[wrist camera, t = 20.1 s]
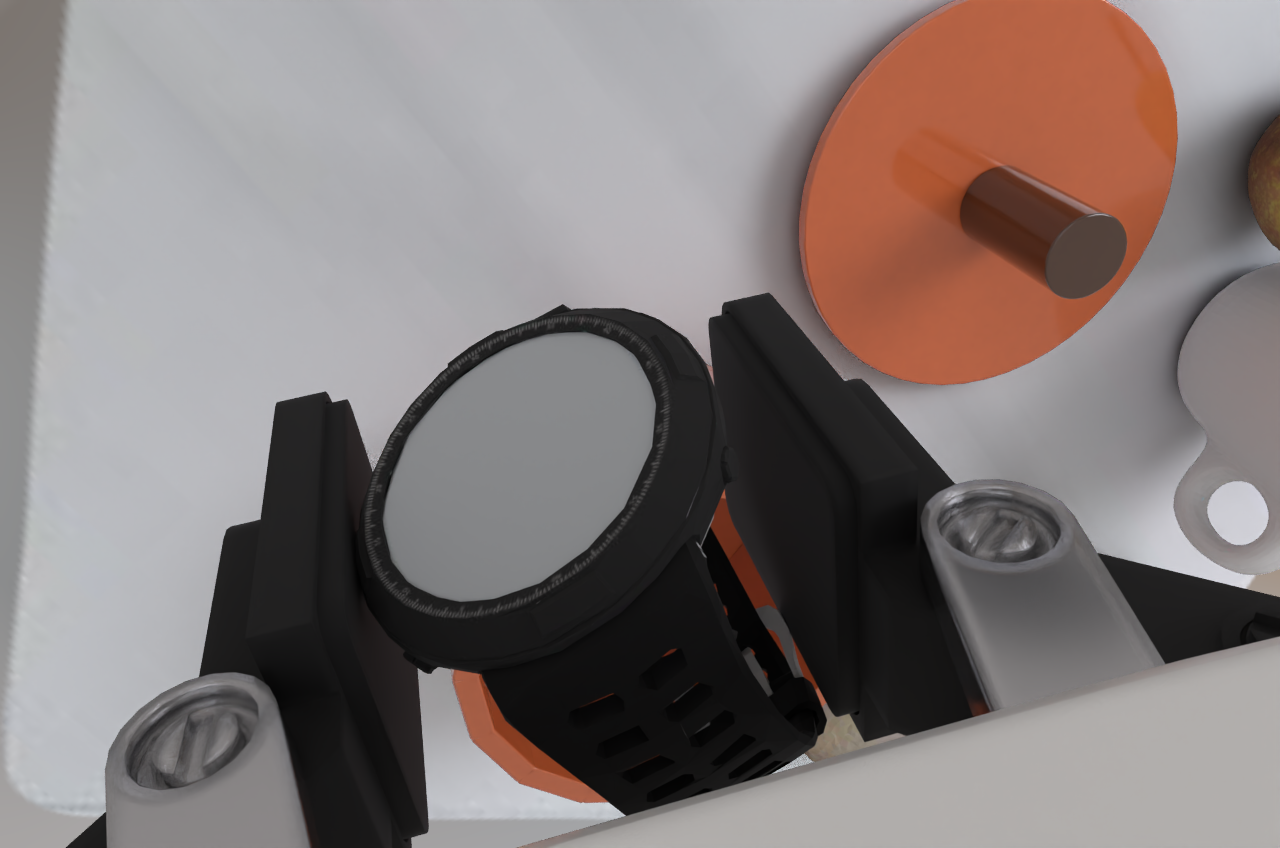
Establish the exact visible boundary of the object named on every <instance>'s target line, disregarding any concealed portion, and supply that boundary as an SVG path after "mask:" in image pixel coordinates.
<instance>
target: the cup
mask: <svg viewBox="0 0 1280 848" xmlns="http://www.w3.org/2000/svg"><path fill="white" fill-rule="evenodd" d="M1177 375H1178V385H1179V390H1180V393H1181V397H1182V399H1183V401H1184V403H1185V405H1186V407H1187V408H1188V410H1189V411H1190V413H1191V414H1192V416H1193V417H1194V418H1195V419H1196V420H1197V422H1198V423H1199V424H1200V425H1201V426H1202V428H1203V429H1204V431H1205V433H1206V435H1207V444H1206V446H1205V449H1204V450H1203V452H1202V453H1201V455H1200V456H1199V457H1198V459H1197V460H1196V461H1195V462H1194V463H1193V465H1192V466H1191V467H1190V468H1189V470H1188V471H1187V472H1186V474H1185V475H1184V476H1183V478H1182V479H1181V481H1180V482H1179V485H1178V487H1177V489H1176V492H1175V496H1174V512H1175V516H1176V519H1177V521H1178V524H1179V526H1180V528H1181V530H1182V531H1183V533H1184V535H1185V536H1186V538H1187V539H1188V540H1189V541H1190V543H1191V544H1192V545H1193V546H1194V547H1195V548H1196V549H1197V550H1198V551H1199V552H1200V553H1201V554H1203V555H1204V556H1206V557H1207V558H1209V559H1210V560H1211V561H1213V562H1214V563H1216V564H1218V565H1220V566H1222V567H1224V568H1226V569H1228V570H1231V571H1234V572H1237V573H1240V574H1246V575H1259V574H1266V573H1270V572H1273V571H1276V570H1278V569H1280V263H1276V264H1272V265H1268V266H1265V267H1262V268H1258V269H1256V270H1254V271H1252V272H1249V273H1247V274H1245V275H1244V276H1242V277H1240V278H1239V279H1237V280H1235V281H1234V282H1232V283H1231V284H1229V285H1228V286H1227V287H1226V288H1224V289H1223V290H1222V291H1221V292H1219V293H1218V294H1217V295H1216V296H1215V297H1214V298H1213V299H1212V300H1211V301H1210V302H1209V303H1208V304H1207V305H1206V306H1205V308H1204V309H1203V310H1202V312H1201V313H1200V314H1199V316H1198V317H1197V318H1196V320H1195V321H1194V323H1193V325H1192V326H1191V328H1190V330H1189V332H1188V333H1187V336H1186V338H1185V340H1184V343H1183V345H1182V348H1181V352H1180V356H1179V361H1178V369H1177ZM1233 481H1243V482H1248V483H1250V484H1252V485H1253V486H1254V487H1255V488H1256V489H1257V490H1258V491H1259V492H1260V494H1261V495H1262V497H1263V498H1264V500H1265V502H1266V504H1267V508H1268V512H1269V520H1268V524H1267V527H1266V529H1265V530H1264V532H1263V533H1262V535H1261V536H1260V537H1259V538H1258V539H1256V540H1255V541H1253V542H1252V543H1249V544H1246V545H1234V544H1231V543H1229V542H1227V541H1226V540H1224V539H1223V538H1222V537H1220V535H1219V534H1218V533H1217V532H1216V531H1215V529H1214V528H1213V526H1212V525H1211V523H1210V521H1209V518H1208V514H1207V506H1208V502H1209V499H1210V497H1211V495H1212V494H1213V493H1214V492H1215V491H1216V490H1217V489H1218V488H1219V487H1220V486H1222V485H1224V484H1226V483H1229V482H1233Z"/></svg>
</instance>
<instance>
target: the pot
mask: <svg viewBox="0 0 1280 848" xmlns="http://www.w3.org/2000/svg"><path fill="white" fill-rule="evenodd" d="M706 365H707V364H706ZM707 368H708V370H709V373H710V376H711V378H712V381H713V384H714V378H713V368H712V367H711V366H709V365H707ZM710 527H711V529H712V530H713V532H714V534H715V535H716V537H717V539H718V541H719V543H720V544H721V546H722V548H723V550H724V552H725V554H726V555H727V557H728V559H729V561H730V563H731V565H732V567H733V568H734V570H735V572H736V574H737V576H738V578H739V580H740V581H741V583H742V585H743V587H744V589H745V591H746V593H747V594H748V596H749V598H750V600H751V602H752V604H753V606H754V608H755V609H757V608H760V607H763V606H766V605H769V606H771V607H773V608H775V609H777V607H776V605H775V603H774V601H773V600H772V598H771V596H770V594H769V592H768V590H767V588H766V586H765V584H764V582H763V580H762V578H761V576H760V575H759V573H758V571H757V569H756V567H755V565H754V563H753V561H752V559H751V557H750V555H749V553H748V552H747V550H746V548H745V546H744V544H743V542H742V540H741V538H740V536H739V534H738V532H737V530H736V529H735V527H734V525H733V522H732V520H731V517H730V514H729V511H728V507H727V502H726V496H725V489H724V492H723V494H722V496H721V499H720V501H719V504H718V506H717V508H716V511H715V513H714V517H713V520H712V523H711V525H710ZM714 586H715V588H716V590H717V587H716V584H714ZM717 592H718V591H717ZM723 607H724V606H723ZM724 610H725V612H726V615H727V609H726V608H725V607H724ZM777 610H778V609H777ZM767 630H768V631H769V633H770V634H771V636H772V637H773V639H774V641H775V642H776V644H777V645H778V647H779V648H780V650H781V652H782V653H783V655H784V656H785V654H784V651H783V648H782V645H781V642H780V639H779V637H778V636H777V634H776V633H775V632H774V631H772V630H769V629H767ZM792 639H793V638H792ZM793 643H794V647H795V651H796V655H797V659H798V663H799V666H800V668H801V671H802V674H803V676H804V678H806V679H807V680H809V681H810V682H812V684H813V686H814V688H815V690H816V692H817V695H818V697H819V700H820V702H821V705H822V707H823V706H824V705H825V704H826V701H825V699H824V697H823V695H822V694H821V692H820V690H819V688H818V686H817V684H816V682H815V680H814V678H813V676H812V674H811V672H810V671H809V669H808V667H807V665H806V663H805V661H804V659H803V657H802V655H801V653H800V651H799V649H798V648H797V646H796V644H795V642H794V640H793ZM675 650H677V649H672V650H670V651H668V652H667V653H666V654H665V655H664V656H666V655H668V654H671V653H673V652H674V651H675ZM751 651H752V653H753V655H755V652H754V651H753V650H752V649H751ZM664 656H662V657H664ZM785 658H786V657H785ZM763 672H764V674H765V676H766V678H767V673H766V672H765V671H764V670H763ZM451 676H452V683H453V686H454V689H455V692H456V695H457V699H458V702H459V705H460V708H461V711H462V714H463V717H464V721H465V724H466V727H467V730H468V733H469V736H470V738H471V739H472V741H473V743H474V744H476V745H477V746H478V747H479V748H480V749H481V750H482V751H483V752H484V753H486V754H487V755H488V756H489V757H490V758H491V759H492V760H493V761H494V762H496V763H497V764H498V765H499V766H500V767H501V768H502V769H503V770H504V771H506V772H507V773H508V774H509V775H510V776H511V777H512V778H513V779H514V780H516V781H517V782H518V783H519V784H522V785H526V786H529V787H532V788H535V789H538V790H541V791H545V792H548V793H551V794H554V795H557V796H560V797H564V798H567V799H570V800H573V801H576V802H579V803H582V802H584V803H605V802H608V801H607V800H605V799H604V798H603V797H601V796H600V795H599V794H598V793H596V792H595V791H594V790H592V789H591V788H590V787H588V786H587V785H586V784H584V783H583V782H582V781H580V780H579V779H578V778H576V777H575V776H574V775H572V774H571V773H570V772H568V771H567V770H566V769H565V768H563V767H562V766H561V765H559V764H558V763H557V762H555V761H554V760H553V759H551V758H550V757H549V756H548V755H546V754H545V753H544V752H542V751H541V750H540V749H538V748H537V747H536V746H535V745H534V744H532V743H531V742H530V741H529V740H528V739H526V738H525V737H524V736H523V735H522V734H521V733H519V732H518V731H517V730H516V729H515V728H513V727H512V726H511V725H510V724H509V723H507V722H506V721H505V719H504V717H503V715H502V714H501V712H500V710H499V708H498V706H497V705H496V703H495V701H494V699H493V697H492V696H491V694H490V692H489V690H488V688H487V686H486V685H485V682H484V680H483V678H482V675H481V674H476V673H470V672H464V671H459V670H453V669H451ZM696 684H697V683H696ZM696 684H695V685H696ZM695 685H694V686H695ZM613 694H614V693H613ZM610 695H611V694H610ZM608 696H609V695H608ZM606 697H607V696H606ZM603 698H604V697H603ZM601 699H602V698H601ZM596 701H597V700H596ZM673 702H675V701H673ZM591 703H592V702H591ZM589 704H590V703H589ZM584 706H585V705H584ZM658 756H659V755H658ZM649 760H650V759H649ZM647 761H648V760H647ZM645 762H646V761H645ZM632 768H633V767H632Z"/></svg>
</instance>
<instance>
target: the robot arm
mask: <svg viewBox="0 0 1280 848" xmlns="http://www.w3.org/2000/svg"><path fill="white" fill-rule="evenodd" d="M709 338H710V348H711V358H712V368H713V378H714V386H715V389H716V392H717V394H718V397H719V400H720V403H721V405H722V408H723V413H724V418H725V426H726V436H727V447H732V448H733V449H734V450H735V452H736V455H737V458H738V461H739V473H738V478H737V480H736V481H732V482H730V483H729V484H727V485H726V487H725V496H726V502H727V507H728V511H729V514H730V517H731V520H732V522H733V525H734V527H735V529H736V530H737V532H738V534H739V536H740V538H741V540H742V542H743V544H744V546H745V548H746V550H747V552H748V553H749V555H750V557H751V559H752V561H753V563H754V565H755V567H756V569H757V571H758V573H759V575H760V576H761V578H762V580H763V582H764V584H765V586H766V588H767V590H768V592H769V594H770V596H771V598H772V600H773V601H774V603H775V605H776V607H777V609H778V610H779V611H780V613H781V615H782V617H783V619H784V621H785V623H786V625H787V627H788V629H789V632H790V634H791V636H792V638H793V640H794V642H795V644H796V646H797V648H798V649H799V651H800V653H801V655H802V657H803V659H804V661H805V663H806V665H807V667H808V669H809V671H810V672H811V674H812V676H813V678H814V680H815V682H816V684H817V686H818V688H819V690H820V692H821V694H822V695H823V697H824V699H825V701H826V703H827V705H828V707H829V709H830V710H831V712H832V714H833V715H834V716H835V717H840V716H844V715H847V714H849V715H850V716H851V718H852V720H853V722H854V724H855V726H856V728H857V729H858V731H859V733H860V735H861V737H862V739H863V740H864V742H868V741H871V740H875V739H878V738H882V737H885V736H889V735H892V734H896V733H899V734H902V735H905V737H901V738H898V739H894V740H891V741H887V742H884V743H880V744H877V745H873V746H869V747H866V748H862V749H859V750H855V751H852V752H848V753H844V754H841V755H837V756H834V757H830V758H827V759H823V760H820V761H816V762H813V763H809V764H806V765H802V766H799V767H795V768H792V769H788V770H785V771H781V772H778V773H774V774H771V775H767V776H764V777H760V778H757V779H753V780H750V781H746V782H743V783H739V784H736V785H733V786H729V787H726V788H722V789H719V790H715V791H712V792H708V793H705V794H701V795H698V796H694V797H691V798H687V799H684V800H680V801H677V802H673V803H670V804H666V805H663V806H659V807H656V808H652V809H649V810H645V811H642V812H638V813H635V814H632V815H628V816H625V817H621V818H618V819H614V820H611V821H607V822H604V823H600V824H597V825H594V826H590V827H586V828H583V829H579V830H576V831H573V832H569V833H566V834H562V835H559V836H555V837H552V838H548V839H545V840H541V841H538V842H535V843H531V844H528V845H524V846H521V847H517V848H1280V597H1277V596H1272V595H1268V594H1264V593H1260V592H1256V591H1252V590H1248V589H1244V588H1239V587H1235V586H1231V585H1227V584H1223V583H1219V582H1215V581H1211V580H1206V579H1202V578H1198V577H1194V576H1190V575H1186V574H1182V573H1178V572H1173V571H1169V570H1165V569H1161V568H1157V567H1153V566H1149V565H1145V564H1140V563H1136V562H1132V561H1128V560H1124V559H1120V558H1116V557H1112V556H1107V555H1103V554H1099V553H1097V552H1096V550H1095V549H1094V547H1093V545H1092V544H1091V542H1090V541H1089V539H1088V537H1087V536H1086V534H1085V532H1084V531H1083V529H1082V528H1081V526H1080V524H1079V523H1078V521H1077V519H1076V518H1075V516H1074V515H1073V514H1072V513H1071V512H1070V510H1069V509H1068V508H1067V507H1066V506H1065V505H1064V504H1063V503H1062V502H1061V501H1060V500H1058V499H1056V498H1055V497H1053V496H1051V495H1050V494H1048V493H1047V492H1045V491H1043V490H1040V489H1037V488H1035V487H1032V486H1029V485H1026V484H1023V483H1018V482H1012V481H1005V480H999V479H997V480H973V481H968V482H964V483H959V484H955V483H954V482H953V481H952V480H951V479H950V478H949V477H948V475H947V474H946V473H945V472H944V471H943V470H942V469H941V467H940V466H939V465H938V464H937V463H936V462H935V461H934V459H933V458H932V457H931V456H930V455H929V454H928V453H927V451H926V450H925V449H924V448H923V447H922V446H921V445H920V443H919V442H918V441H917V440H916V439H915V438H914V437H913V435H912V434H911V433H910V432H909V431H908V430H907V429H906V427H905V426H904V425H903V424H902V423H901V422H900V421H899V419H898V418H897V417H896V416H895V415H894V414H893V413H892V411H891V410H890V409H889V408H888V407H887V406H886V405H885V404H884V402H883V401H882V400H881V399H880V398H879V397H878V396H877V394H876V393H875V392H874V391H873V390H872V389H871V388H870V386H869V385H868V384H867V383H865V382H864V381H863V380H862V379H851V380H847V381H844V380H843V379H842V378H841V377H840V376H839V374H838V373H837V372H836V371H835V370H834V368H833V367H832V366H831V365H830V364H829V362H828V361H827V360H826V359H825V358H824V357H823V355H822V354H821V353H820V352H819V351H818V349H817V348H816V347H815V346H814V345H813V343H812V342H811V341H810V340H809V339H808V338H807V336H806V335H805V334H804V333H803V332H802V330H801V329H800V328H799V327H798V326H797V324H796V323H795V322H794V321H793V320H792V318H791V317H790V316H789V315H788V314H787V313H786V311H785V310H784V309H783V308H782V307H781V305H780V304H779V303H778V302H777V301H776V299H775V298H774V297H773V296H772V295H771V294H770V293H765V294H761V295H756V296H752V297H747V298H743V299H738V300H734V301H729V302H725V303H724V304H723V306H722V315H720V316H716V317H711V318H710V319H709ZM372 474H373V471H372V468H371V465H370V462H369V459H368V456H367V453H366V450H365V447H364V444H363V441H362V438H361V435H360V432H359V429H358V426H357V423H356V420H355V417H354V414H353V411H352V408H351V405H350V403H349V401H348V400H347V399H346V400H342V401H337V402H333V403H332V401H331V399H330V397H329V395H328V394H327V392H321V393H317V394H312V395H308V396H303V397H299V398H294V399H290V400H285V401H281V402H277V403H276V406H275V413H274V421H273V429H272V436H271V444H270V452H269V459H268V467H267V475H266V482H265V490H264V498H263V505H262V513H261V520H257V521H253V522H248V523H244V524H240V525H236V526H232V527H230V528H228V529H227V530H226V533H225V536H224V539H223V545H222V551H221V556H220V562H219V568H218V573H217V579H216V584H215V590H214V596H213V601H212V607H211V613H210V618H209V624H208V630H207V635H206V641H205V646H204V652H203V658H202V663H201V669H200V675H199V678H195V679H192V680H188V681H185V682H183V683H181V684H179V685H177V686H175V687H173V688H171V689H169V690H167V691H165V692H163V693H161V694H160V695H159V696H157V697H156V698H155V699H153V700H152V701H150V702H149V703H148V704H146V705H145V706H144V707H142V708H141V709H140V710H138V711H137V713H136V714H135V715H134V716H133V717H132V718H131V719H130V720H129V721H128V722H127V723H126V724H125V725H124V727H123V728H122V729H121V730H120V732H119V733H118V735H117V737H116V739H115V741H114V742H113V744H112V746H111V748H110V749H109V753H108V758H107V763H106V768H105V787H106V812H105V813H104V814H103V815H102V816H101V817H100V818H99V819H97V820H96V821H95V822H94V823H93V824H92V825H91V826H90V827H89V828H87V829H86V830H85V831H84V832H83V833H82V834H81V835H79V836H78V837H77V838H76V839H75V840H74V841H73V842H71V843H70V844H69V845H68V846H67V847H66V848H412V844H411V837H415V836H418V835H421V834H425V833H427V832H428V827H429V825H428V808H427V794H426V781H425V767H424V753H423V739H422V725H421V712H420V698H419V684H418V670H417V667H416V666H415V665H413V664H412V663H410V662H409V661H407V660H406V659H405V658H404V656H403V653H404V652H405V650H403V649H402V648H401V647H400V646H399V645H397V644H396V643H395V642H394V641H393V640H392V639H390V638H389V637H388V636H387V634H386V633H385V631H384V630H383V629H382V627H381V626H380V624H379V623H378V622H377V620H376V619H375V618H374V616H373V615H372V613H371V612H370V611H369V609H368V607H367V604H366V601H365V598H364V595H363V591H362V587H361V580H360V576H359V572H358V569H357V564H356V552H355V537H356V533H357V530H358V529H359V519H360V511H361V508H362V504H363V500H364V497H365V494H366V491H367V488H368V485H369V482H370V479H371V476H372Z"/></svg>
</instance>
